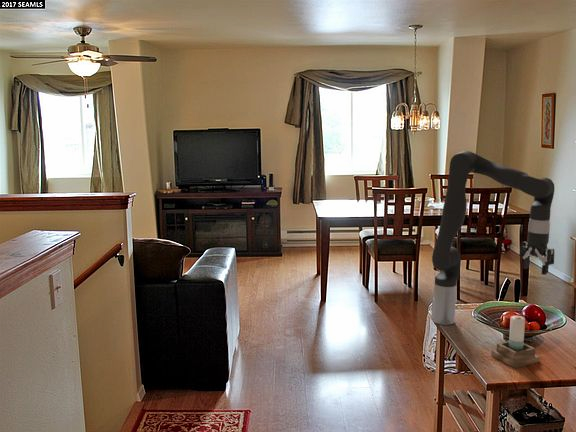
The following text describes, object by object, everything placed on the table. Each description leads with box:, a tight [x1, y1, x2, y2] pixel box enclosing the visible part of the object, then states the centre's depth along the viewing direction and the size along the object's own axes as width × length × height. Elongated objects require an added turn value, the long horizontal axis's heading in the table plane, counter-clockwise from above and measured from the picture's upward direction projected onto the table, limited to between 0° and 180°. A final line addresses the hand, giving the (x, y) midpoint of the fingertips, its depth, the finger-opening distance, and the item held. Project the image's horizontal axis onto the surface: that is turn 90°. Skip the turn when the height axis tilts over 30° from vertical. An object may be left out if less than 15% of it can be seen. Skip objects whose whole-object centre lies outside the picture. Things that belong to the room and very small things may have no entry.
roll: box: [508, 315, 526, 352], centre depth 217 cm, size 5×5×14 cm
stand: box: [490, 340, 541, 369], centre depth 218 cm, size 12×12×5 cm
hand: (535, 271), depth 225 cm, fingers open, 8 cm apart
